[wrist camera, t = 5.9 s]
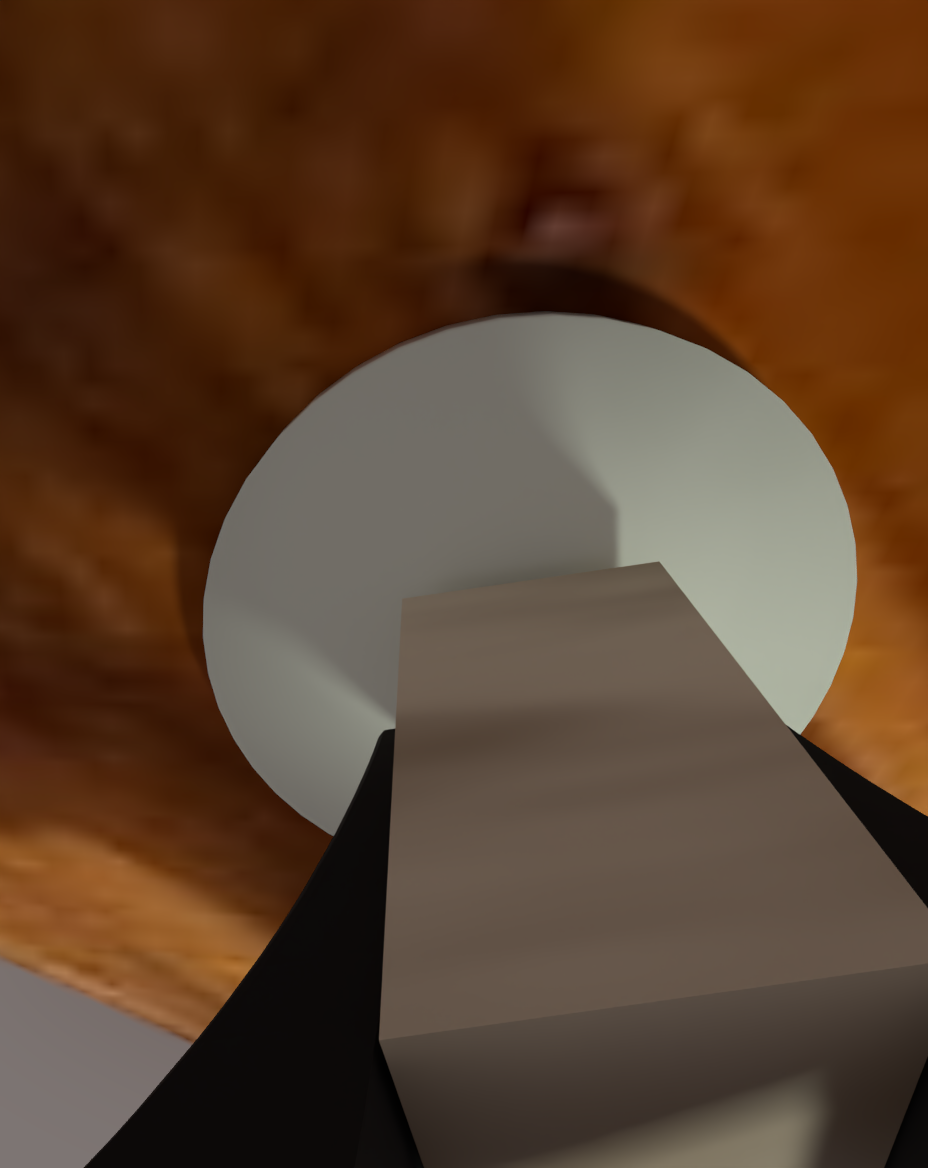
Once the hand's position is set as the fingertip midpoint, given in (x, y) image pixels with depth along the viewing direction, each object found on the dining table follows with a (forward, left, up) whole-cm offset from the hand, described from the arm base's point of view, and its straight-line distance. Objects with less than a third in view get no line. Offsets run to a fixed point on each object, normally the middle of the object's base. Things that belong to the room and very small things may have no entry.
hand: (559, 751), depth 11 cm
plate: (0, 0, -4) cm, 4 cm away
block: (0, 0, -2) cm, 2 cm away
